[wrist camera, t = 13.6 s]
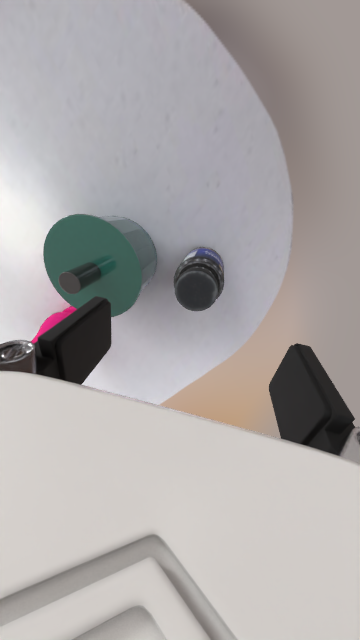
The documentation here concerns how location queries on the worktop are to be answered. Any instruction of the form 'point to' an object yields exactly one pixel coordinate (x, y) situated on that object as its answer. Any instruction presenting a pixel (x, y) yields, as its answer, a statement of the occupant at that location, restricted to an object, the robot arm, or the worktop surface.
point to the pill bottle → (199, 279)
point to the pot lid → (92, 262)
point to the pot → (138, 245)
